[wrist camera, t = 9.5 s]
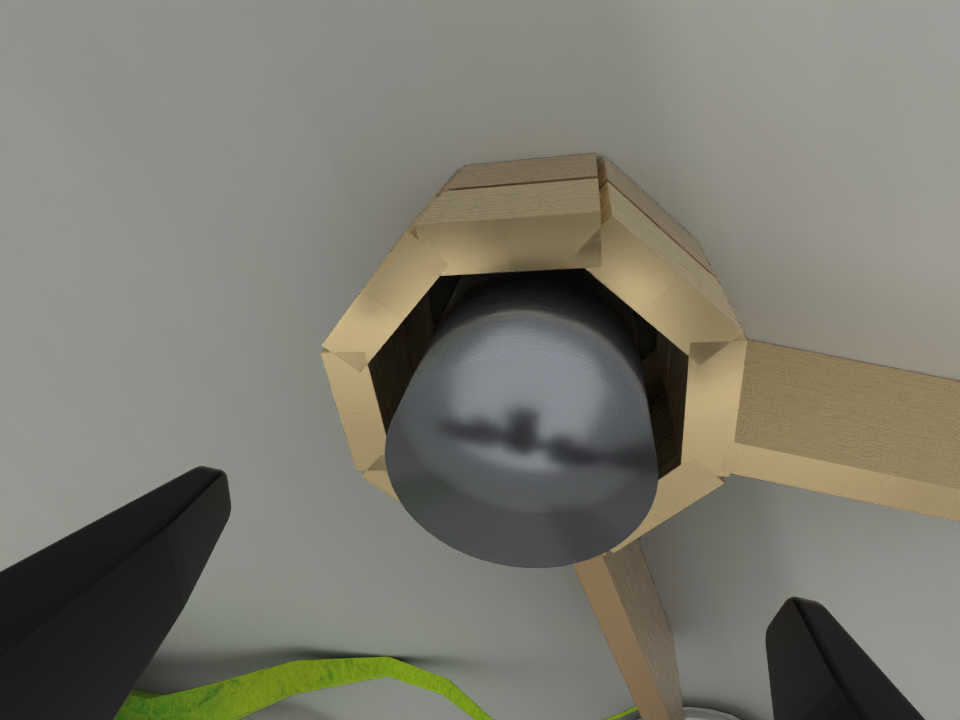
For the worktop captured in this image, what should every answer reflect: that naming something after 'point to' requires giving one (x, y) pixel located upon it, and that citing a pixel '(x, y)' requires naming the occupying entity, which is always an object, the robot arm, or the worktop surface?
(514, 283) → the hinge pin
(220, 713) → the decorative plant
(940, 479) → the hinge
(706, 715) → the can
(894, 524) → the worktop surface
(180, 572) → the robot arm
